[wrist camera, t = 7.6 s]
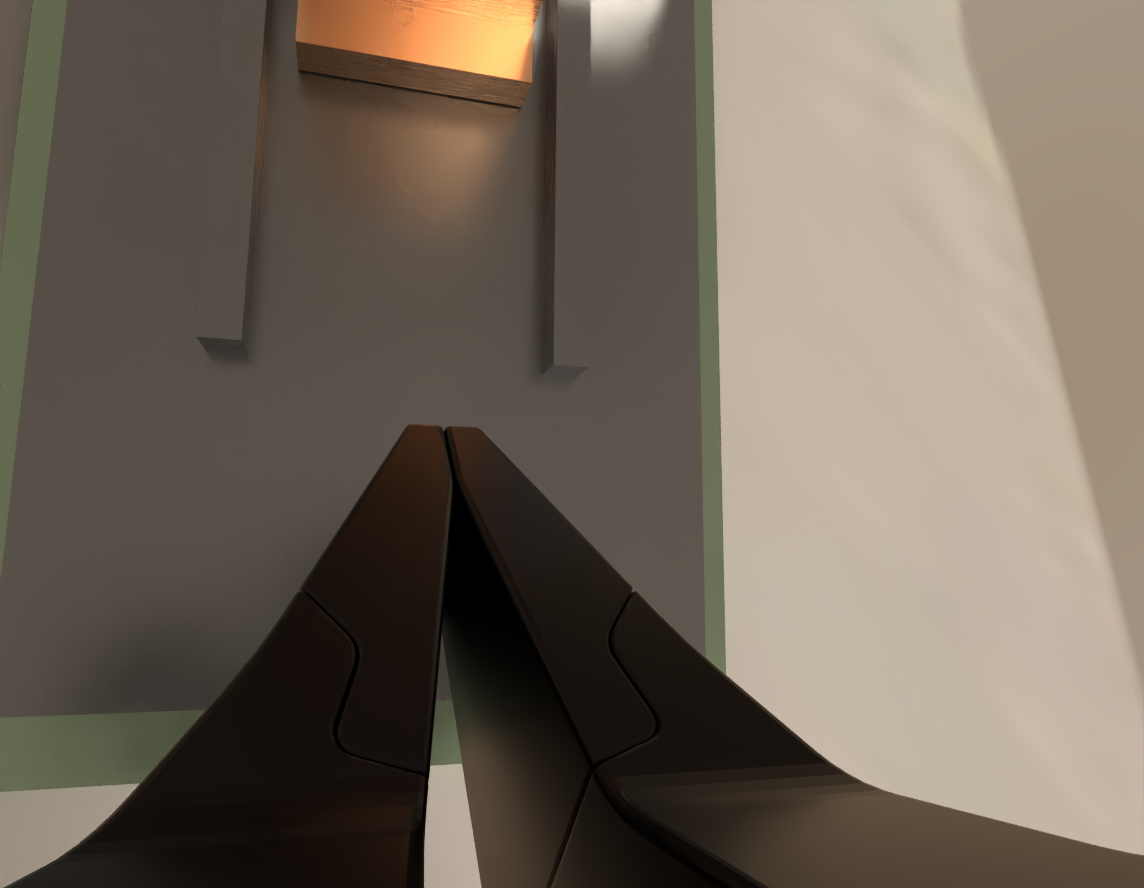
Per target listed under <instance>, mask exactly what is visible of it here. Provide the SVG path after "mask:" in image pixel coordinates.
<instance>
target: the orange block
mask: <svg viewBox="0 0 1144 888" xmlns="http://www.w3.org/2000/svg"><path fill="white" fill-rule="evenodd" d="M542 3H543V0H298V9H297V24H296V39H295V42H296V52H297V63H298V70H302V71H308V72H314V73H320V74H326V75H332V76H338V77H344V78H350V79H356V80H362V81H368V82H374V83H380V84H386V85H392V86H398V87H404V88H410V89H416V90H422V91H428V92H434V93H440V94H445V95H451V96H457V97H463V98H469V99H475V100H481V101H487V102H493V103H499V104H505V105H511V106H517V107H523V105H524V102H525V99H526V97H527V94H528V92H529V89H530V87H531V84H532V53H533V28H534V25H535V22H536V20H537V17H538V14H539V11H540V8H541V5H542Z"/></svg>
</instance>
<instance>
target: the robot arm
mask: <svg viewBox="0 0 1144 888" xmlns="http://www.w3.org/2000/svg"><path fill="white" fill-rule="evenodd" d="M633 591H634V588H633V586H632V585H631V584H630V583H629V582H628V581H627V580H626V579H625V578H624V577H623V576H622V575H621V574H620V573H619V572H618V571H617V570H616V569H615V568H614V567H613V566H612V565H611V563H610V562H609V561H608V560H607V559H606V558H605V557H604V556H603V555H602V554H601V553H600V552H599V551H598V550H597V549H596V548H595V547H594V546H593V545H592V544H591V543H590V542H589V541H588V540H587V539H586V538H585V537H584V536H583V535H582V533H581V532H580V531H579V530H578V529H577V528H576V527H575V526H574V525H573V524H572V523H571V522H570V521H569V520H568V519H567V518H566V517H565V516H564V515H563V514H562V513H561V512H560V511H559V510H558V509H557V508H556V507H555V506H554V505H553V504H552V502H551V501H550V500H549V499H548V498H547V497H546V496H545V495H544V494H543V493H542V492H541V491H540V490H539V489H538V488H537V487H536V486H535V485H534V484H533V483H532V482H531V481H530V480H529V479H528V478H527V477H526V476H525V475H524V474H523V473H522V471H521V470H520V469H519V468H518V467H517V466H516V465H515V464H514V463H513V462H512V461H511V460H510V459H509V458H508V457H507V456H506V455H505V454H504V453H503V452H502V451H501V450H500V449H499V448H498V447H497V446H496V445H495V444H494V443H493V442H492V440H491V439H490V438H489V437H488V436H487V435H486V434H485V433H484V432H483V431H482V430H481V429H479V428H476V427H461V426H448V427H446V428H445V429H444V430H443V428H442V427H441V426H438V425H425V424H409V425H408V426H407V427H406V428H405V429H404V431H403V432H402V434H401V435H400V437H399V438H398V440H397V441H396V443H395V444H394V446H393V447H392V449H391V450H390V452H389V453H388V455H387V456H386V458H385V459H384V461H383V462H382V464H381V465H380V467H379V469H378V470H377V472H376V473H375V475H374V476H373V478H372V479H371V481H370V482H369V484H368V485H367V487H366V488H365V490H364V491H363V493H362V494H361V496H360V497H359V499H358V500H357V502H356V503H355V505H354V506H353V508H352V510H351V511H350V513H349V514H348V516H347V517H346V519H345V520H344V522H343V523H342V525H341V526H340V528H339V529H338V531H337V532H336V534H335V535H334V537H333V538H332V540H331V541H330V543H329V544H328V546H327V547H326V549H325V551H324V552H323V554H322V555H321V557H320V558H319V560H318V561H317V563H316V564H315V566H314V567H313V569H312V570H311V572H310V573H309V575H308V576H307V578H306V579H305V581H304V582H303V584H302V585H301V587H300V589H299V592H297V593H296V594H295V595H294V597H293V598H292V600H291V601H290V603H289V605H288V606H287V608H286V609H285V611H284V612H283V614H282V615H281V617H280V618H279V619H278V621H277V622H276V624H275V625H274V626H273V628H272V629H271V631H270V632H269V633H268V635H267V636H266V638H265V639H264V640H263V642H262V643H261V644H260V646H259V647H258V649H257V650H256V651H255V653H254V654H253V655H252V656H251V658H250V659H249V660H248V661H247V662H246V664H245V665H244V666H243V667H242V668H241V670H240V671H239V672H238V673H237V674H236V675H235V677H234V678H233V679H232V680H231V681H230V683H229V684H228V685H227V686H226V687H225V689H224V690H223V691H222V692H221V693H220V694H219V696H218V697H217V698H216V699H215V700H214V701H213V702H212V703H211V705H210V706H209V707H208V708H207V709H206V710H205V711H204V712H203V714H202V715H201V716H200V717H199V718H198V719H197V720H196V721H195V723H194V724H193V725H192V726H191V727H190V728H189V729H188V730H187V731H186V733H185V734H184V735H183V736H182V737H181V738H180V739H179V740H178V742H177V743H176V744H175V745H174V746H173V747H172V748H171V749H170V751H169V752H168V753H167V754H166V755H165V756H164V757H163V758H162V760H161V761H160V762H159V763H158V764H157V765H156V766H155V767H154V769H153V770H152V771H151V772H150V773H149V774H148V775H147V776H146V778H145V779H144V780H143V781H142V782H141V783H140V784H139V785H138V787H137V788H136V789H135V790H134V791H133V792H132V793H131V794H130V795H129V797H128V798H127V799H126V800H125V801H124V802H123V803H122V804H121V805H120V806H119V807H118V808H117V809H116V811H115V812H114V813H113V814H112V815H111V816H110V817H109V818H107V819H106V820H105V821H104V822H103V823H102V824H101V825H100V826H99V827H98V828H97V829H96V830H95V831H93V832H92V833H91V834H90V835H89V836H87V837H86V838H85V839H84V840H82V841H81V842H80V843H79V844H78V845H76V846H75V847H74V848H72V849H71V850H69V851H68V852H66V853H65V854H64V855H62V856H61V857H59V858H58V859H56V860H55V861H53V862H51V863H49V864H48V865H46V866H44V867H42V868H40V869H38V870H36V871H34V872H32V873H31V874H29V875H27V876H25V877H23V878H21V879H19V880H17V881H15V882H13V883H12V884H10V885H8V886H6V887H4V888H424V839H425V822H426V808H427V795H428V780H429V772H430V761H431V750H432V738H433V727H434V716H435V704H436V693H437V682H438V670H439V659H440V648H441V636H442V639H443V645H444V651H445V658H446V664H447V670H448V677H449V683H450V689H451V696H452V702H453V708H454V715H455V721H456V727H457V734H458V740H459V746H460V753H461V759H462V765H463V772H464V778H465V784H466V791H467V797H468V803H469V810H470V816H471V822H472V829H473V835H474V841H475V848H476V854H477V860H478V867H479V873H480V880H481V886H482V888H1144V855H1138V854H1132V853H1127V852H1123V851H1118V850H1113V849H1109V848H1104V847H1100V846H1096V845H1092V844H1088V843H1084V842H1080V841H1076V840H1073V839H1069V838H1065V837H1061V836H1057V835H1053V834H1049V833H1045V832H1041V831H1038V830H1034V829H1030V828H1026V827H1022V826H1018V825H1014V824H1010V823H1006V822H1003V821H999V820H995V819H991V818H987V817H983V816H979V815H975V814H971V813H968V812H964V811H960V810H956V809H952V808H948V807H944V806H940V805H936V804H933V803H929V802H925V801H921V800H917V799H913V798H909V797H905V796H901V795H898V794H894V793H891V792H887V791H884V790H881V789H879V788H876V787H874V786H872V785H869V784H867V783H864V782H862V781H860V780H859V779H857V778H855V777H853V776H851V775H849V774H848V773H846V772H844V771H843V770H841V769H840V768H838V767H837V766H835V765H834V764H832V763H831V762H829V761H828V760H827V759H826V758H824V757H823V756H822V755H820V754H819V753H818V752H817V751H815V750H814V749H813V748H812V747H811V746H809V745H808V744H807V743H806V742H805V741H803V740H802V739H801V738H800V737H799V736H798V735H796V734H795V733H794V732H793V731H792V730H790V729H789V728H788V727H787V726H786V725H784V724H783V723H782V722H781V721H780V720H779V719H777V718H776V717H775V716H774V715H773V714H771V713H770V712H769V711H768V710H767V709H766V708H764V707H763V706H762V705H761V704H760V703H758V702H757V701H756V700H755V699H754V698H753V697H751V696H750V695H749V694H748V693H747V692H745V691H744V690H743V689H742V688H741V687H740V686H738V685H737V684H736V683H735V682H734V681H732V680H731V679H730V678H729V677H728V676H726V675H725V674H724V673H723V672H722V671H721V670H720V669H719V668H717V667H716V666H715V665H714V664H713V663H712V662H711V661H709V660H708V659H707V658H706V657H705V656H704V655H703V654H702V653H700V652H699V651H698V650H697V649H696V648H695V647H694V646H693V645H691V644H690V643H689V642H688V641H687V640H686V639H685V638H684V637H683V636H682V635H681V634H680V633H679V632H678V631H677V630H676V629H675V628H674V627H673V626H672V625H671V624H670V623H669V622H668V621H667V620H666V619H664V618H663V617H662V616H661V615H660V614H659V613H658V612H657V611H656V610H655V609H654V608H653V607H652V605H651V604H650V603H649V602H648V601H647V600H646V599H645V598H644V597H643V596H642V595H641V594H640V593H639V592H637V591H634V592H633Z"/></svg>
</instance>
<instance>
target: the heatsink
mask: <svg viewBox="0 0 1144 888" xmlns="http://www.w3.org/2000/svg"><path fill="white" fill-rule="evenodd" d="M297 9H298V0H33V2H32V10H31V18H30V27H29V35H28V43H27V51H26V59H25V67H24V76H23V84H22V92H21V100H20V108H19V116H18V124H17V133H16V141H15V149H14V157H13V165H12V173H11V181H10V190H9V198H8V206H7V214H6V222H5V230H4V239H3V247H2V255H1V263H0V792H5V791H21V790H37V789H54V788H70V787H86V786H103V785H119V784H135V783H141V782H142V781H143V780H144V779H145V778H146V776H147V775H148V774H149V773H150V772H151V771H152V770H153V769H154V767H155V766H156V765H157V764H158V763H159V762H160V761H161V760H162V758H163V757H164V756H165V755H166V754H167V753H168V752H169V751H170V749H171V748H172V747H173V746H174V745H175V744H176V743H177V742H178V740H179V739H180V738H181V737H182V736H183V735H184V734H185V733H186V731H187V730H188V729H189V728H190V727H191V726H192V725H193V724H194V723H195V721H196V720H197V719H198V718H199V717H200V716H201V715H202V714H203V712H204V711H205V710H206V709H207V708H208V707H209V706H210V705H211V703H212V702H213V701H214V700H215V699H216V698H217V697H218V696H219V694H220V693H221V692H222V691H223V690H224V689H225V687H226V686H227V685H228V684H229V683H230V681H231V680H232V679H233V678H234V677H235V675H236V674H237V673H238V672H239V671H240V670H241V668H242V667H243V666H244V665H245V664H246V662H247V661H248V660H249V659H250V658H251V656H252V655H253V654H254V653H255V651H256V650H257V649H258V647H259V646H260V644H261V643H262V642H263V640H264V639H265V638H266V636H267V635H268V633H269V632H270V631H271V629H272V628H273V626H274V625H275V624H276V622H277V621H278V619H279V618H280V617H281V615H282V614H283V612H284V611H285V609H286V608H287V606H288V605H289V603H290V601H291V600H292V598H293V597H294V595H295V594H296V593H297V592H299V589H300V587H301V585H302V584H303V582H304V581H305V579H306V578H307V576H308V575H309V573H310V572H311V570H312V569H313V567H314V566H315V564H316V563H317V561H318V560H319V558H320V557H321V555H322V554H323V552H324V551H325V549H326V547H327V546H328V544H329V543H330V541H331V540H332V538H333V537H334V535H335V534H336V532H337V531H338V529H339V528H340V526H341V525H342V523H343V522H344V520H345V519H346V517H347V516H348V514H349V513H350V511H351V510H352V508H353V506H354V505H355V503H356V502H357V500H358V499H359V497H360V496H361V494H362V493H363V491H364V490H365V488H366V487H367V485H368V484H369V482H370V481H371V479H372V478H373V476H374V475H375V473H376V472H377V470H378V469H379V467H380V465H381V464H382V462H383V461H384V459H385V458H386V456H387V455H388V453H389V452H390V450H391V449H392V447H393V446H394V444H395V443H396V441H397V440H398V438H399V437H400V435H401V434H402V432H403V431H404V429H405V428H406V427H407V426H408V425H409V424H425V425H438V426H441V427H442V428H443V430H444V429H445V428H446V427H448V426H461V427H476V428H479V429H481V430H482V431H483V432H484V433H485V434H486V435H487V436H488V437H489V438H490V439H491V440H492V442H493V443H494V444H495V445H496V446H497V447H498V448H499V449H500V450H501V451H502V452H503V453H504V454H505V455H506V456H507V457H508V458H509V459H510V460H511V461H512V462H513V463H514V464H515V465H516V466H517V467H518V468H519V469H520V470H521V471H522V473H523V474H524V475H525V476H526V477H527V478H528V479H529V480H530V481H531V482H532V483H533V484H534V485H535V486H536V487H537V488H538V489H539V490H540V491H541V492H542V493H543V494H544V495H545V496H546V497H547V498H548V499H549V500H550V501H551V502H552V504H553V505H554V506H555V507H556V508H557V509H558V510H559V511H560V512H561V513H562V514H563V515H564V516H565V517H566V518H567V519H568V520H569V521H570V522H571V523H572V524H573V525H574V526H575V527H576V528H577V529H578V530H579V531H580V532H581V533H582V535H583V536H584V537H585V538H586V539H587V540H588V541H589V542H590V543H591V544H592V545H593V546H594V547H595V548H596V549H597V550H598V551H599V552H600V553H601V554H602V555H603V556H604V557H605V558H606V559H607V560H608V561H609V562H610V563H611V565H612V566H613V567H614V568H615V569H616V570H617V571H618V572H619V573H620V574H621V575H622V576H623V577H624V578H625V579H626V580H627V581H628V582H629V583H630V584H631V585H632V586H633V588H634V591H637V592H639V593H640V594H641V595H642V596H643V597H644V598H645V599H646V600H647V601H648V602H649V603H650V604H651V605H652V607H653V608H654V609H655V610H656V611H657V612H658V613H659V614H660V615H661V616H662V617H663V618H664V619H666V620H667V621H668V622H669V623H670V624H671V625H672V626H673V627H674V628H675V629H676V630H677V631H678V632H679V633H680V634H681V635H682V636H683V637H684V638H685V639H686V640H687V641H688V642H689V643H690V644H691V645H693V646H694V647H695V648H696V649H697V650H698V651H699V652H700V653H702V654H703V655H704V656H705V657H706V658H707V659H708V660H709V661H711V662H712V663H713V664H714V665H715V666H716V667H717V668H719V669H720V670H721V671H722V672H723V673H724V674H725V675H726V656H725V609H724V562H723V515H722V467H721V420H720V373H719V326H718V279H717V231H716V184H715V137H714V90H713V42H712V0H543V3H542V5H541V8H540V11H539V14H538V17H537V20H536V22H535V25H534V28H533V53H532V84H531V87H530V89H529V92H528V94H527V97H526V99H525V102H524V105H523V107H517V106H511V105H505V104H499V103H493V102H487V101H481V100H475V99H469V98H463V97H457V96H451V95H445V94H440V93H434V92H428V91H422V90H416V89H410V88H404V87H398V86H392V85H386V84H380V83H374V82H368V81H362V80H356V79H350V78H344V77H338V76H332V75H326V74H320V73H314V72H308V71H302V70H298V63H297V52H296V42H295V39H296V24H297ZM634 591H633V592H634ZM446 764H462V759H461V753H460V746H459V740H458V734H457V727H456V721H455V715H454V708H453V702H452V696H451V689H450V683H449V677H448V670H447V664H446V658H445V651H444V645H443V639H442V636H441V648H440V659H439V670H438V682H437V693H436V704H435V716H434V727H433V738H432V750H431V761H430V765H446Z"/></svg>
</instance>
